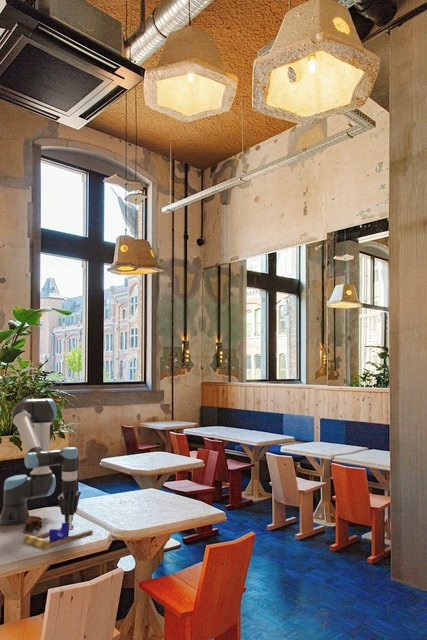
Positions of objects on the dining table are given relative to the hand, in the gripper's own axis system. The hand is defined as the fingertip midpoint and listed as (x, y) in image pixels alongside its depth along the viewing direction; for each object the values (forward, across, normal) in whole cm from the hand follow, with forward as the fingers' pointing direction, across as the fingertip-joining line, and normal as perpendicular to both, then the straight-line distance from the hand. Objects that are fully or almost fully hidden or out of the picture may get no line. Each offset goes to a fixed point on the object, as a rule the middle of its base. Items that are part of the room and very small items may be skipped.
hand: (68, 528), depth 251 cm
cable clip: (+3, -7, -1) cm, 8 cm away
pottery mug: (+3, -6, +20) cm, 21 cm away
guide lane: (+3, -5, 0) cm, 6 cm away
